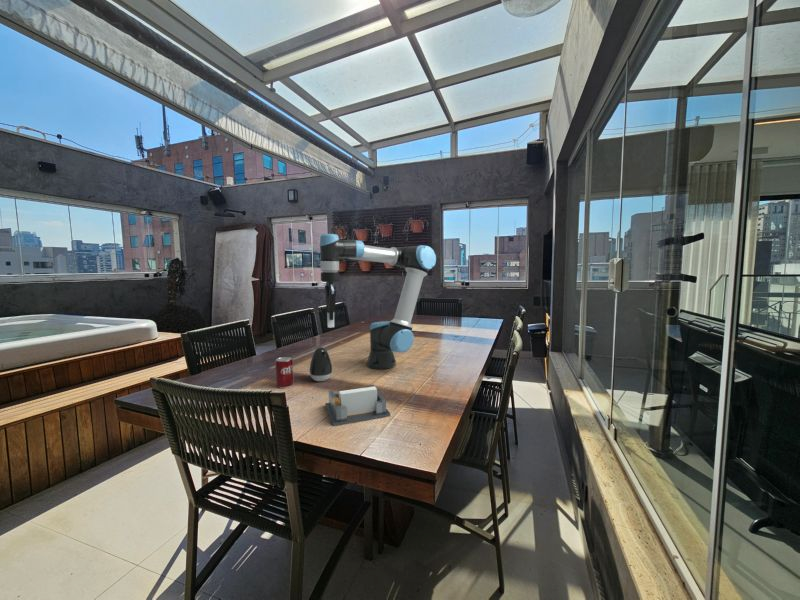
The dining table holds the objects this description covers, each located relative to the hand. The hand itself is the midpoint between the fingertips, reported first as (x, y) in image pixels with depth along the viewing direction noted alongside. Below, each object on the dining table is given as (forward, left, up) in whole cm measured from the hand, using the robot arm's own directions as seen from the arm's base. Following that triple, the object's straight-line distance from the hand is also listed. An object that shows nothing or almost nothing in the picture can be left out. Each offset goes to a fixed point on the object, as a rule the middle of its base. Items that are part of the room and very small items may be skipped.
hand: (331, 327), depth 143 cm
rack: (-4, +27, -26) cm, 38 cm away
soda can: (+19, -9, -27) cm, 34 cm away
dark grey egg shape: (+3, -11, -27) cm, 29 cm away
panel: (-4, +31, -25) cm, 40 cm away
